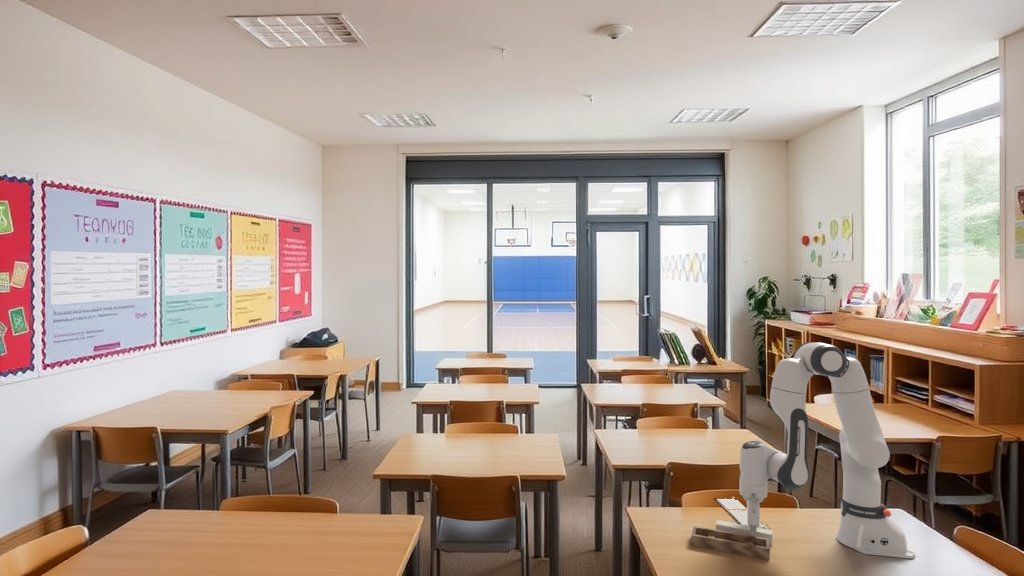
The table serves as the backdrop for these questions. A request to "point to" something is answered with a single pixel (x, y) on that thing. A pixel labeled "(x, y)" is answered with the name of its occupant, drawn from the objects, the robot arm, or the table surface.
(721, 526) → the clay strip
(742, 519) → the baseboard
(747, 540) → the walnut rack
